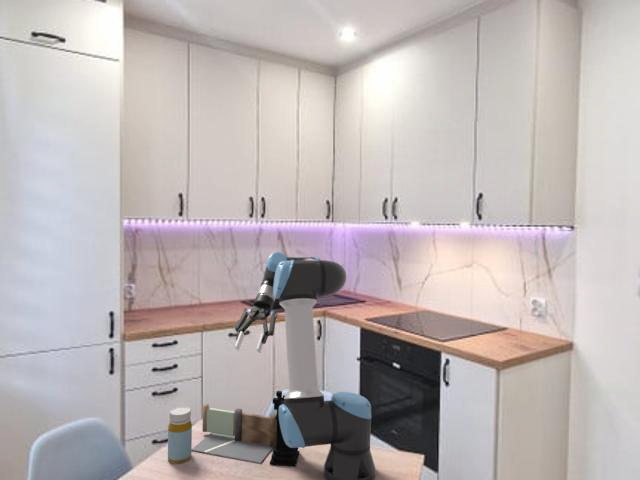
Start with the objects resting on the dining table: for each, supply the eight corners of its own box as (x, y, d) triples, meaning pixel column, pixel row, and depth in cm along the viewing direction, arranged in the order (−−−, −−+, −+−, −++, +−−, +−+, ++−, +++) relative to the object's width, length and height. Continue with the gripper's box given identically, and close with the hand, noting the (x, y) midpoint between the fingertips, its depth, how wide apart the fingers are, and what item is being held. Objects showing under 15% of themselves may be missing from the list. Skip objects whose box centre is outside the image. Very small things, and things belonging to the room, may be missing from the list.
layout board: (279, 439, 151) (279, 438, 151) (260, 463, 136) (260, 462, 136) (216, 429, 158) (216, 427, 158) (191, 450, 142) (191, 449, 142)
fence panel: (235, 434, 151) (235, 408, 151) (232, 436, 149) (233, 410, 149) (204, 429, 154) (204, 403, 154) (201, 431, 152) (201, 405, 152)
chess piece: (299, 453, 142) (300, 391, 142) (295, 466, 134) (297, 401, 134) (274, 451, 143) (276, 390, 142) (269, 464, 135) (271, 400, 134)
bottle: (191, 451, 142) (191, 405, 141) (191, 462, 135) (192, 414, 135) (167, 454, 140) (168, 407, 139) (167, 465, 133) (168, 416, 133)
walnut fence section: (278, 444, 147) (278, 414, 147) (275, 447, 145) (276, 417, 144) (236, 437, 151) (237, 408, 151) (233, 440, 149) (233, 410, 149)
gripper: (291, 306, 179) (276, 357, 164) (244, 302, 184) (225, 351, 169) (287, 295, 173) (271, 347, 158) (239, 291, 179) (218, 341, 164)
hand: (247, 349), depth 164 cm, fingers open, 8 cm apart
